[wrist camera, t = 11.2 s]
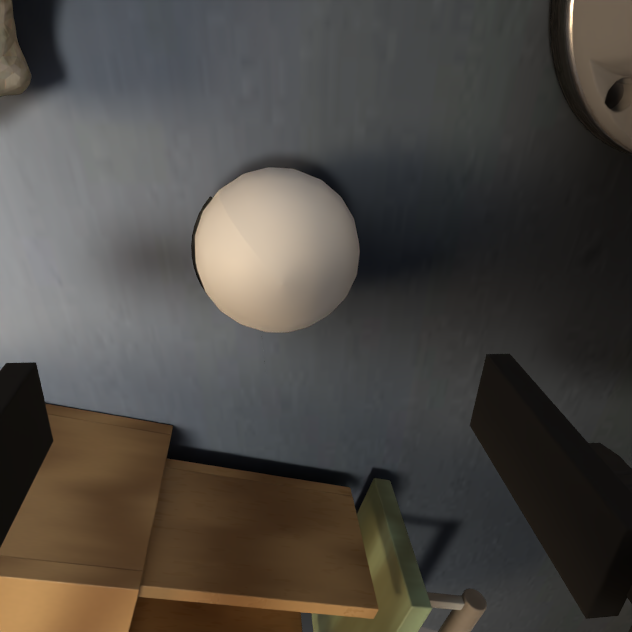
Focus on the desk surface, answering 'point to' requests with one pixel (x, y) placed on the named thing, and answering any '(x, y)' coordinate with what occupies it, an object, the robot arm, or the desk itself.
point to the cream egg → (276, 249)
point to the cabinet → (84, 526)
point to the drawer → (283, 558)
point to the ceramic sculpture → (11, 55)
